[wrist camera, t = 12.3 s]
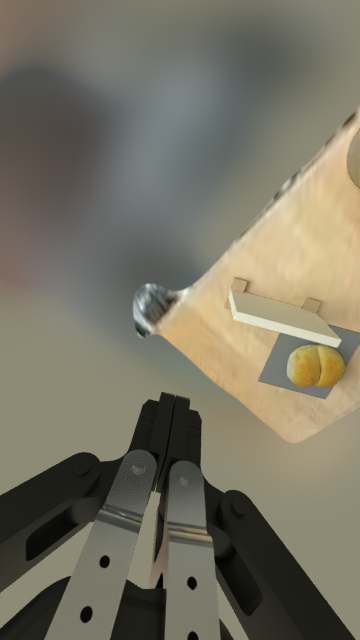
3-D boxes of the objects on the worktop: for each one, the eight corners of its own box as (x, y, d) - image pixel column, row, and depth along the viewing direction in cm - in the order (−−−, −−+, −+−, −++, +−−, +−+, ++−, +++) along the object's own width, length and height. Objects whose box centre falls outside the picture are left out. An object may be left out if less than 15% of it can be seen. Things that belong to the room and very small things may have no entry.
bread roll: (334, 382, 48) (344, 397, 45) (283, 380, 49) (289, 394, 46) (345, 342, 45) (357, 355, 41) (290, 340, 46) (297, 352, 42)
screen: (234, 277, 43) (241, 297, 33) (319, 300, 43) (349, 327, 34) (224, 305, 45) (228, 332, 36) (305, 327, 45) (330, 359, 36)
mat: (288, 314, 44) (289, 314, 44) (364, 334, 44) (364, 334, 44) (257, 380, 50) (258, 381, 50) (324, 398, 50) (325, 399, 50)
